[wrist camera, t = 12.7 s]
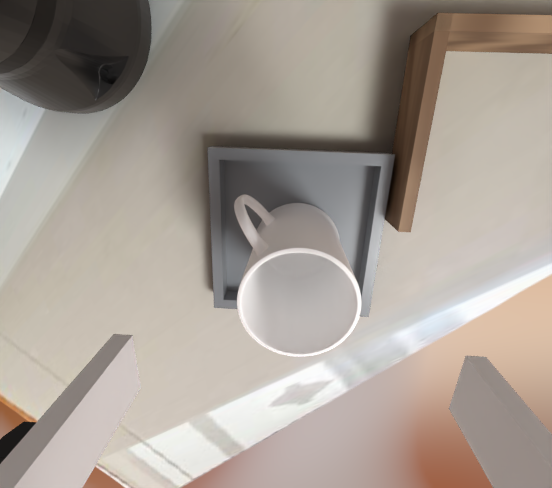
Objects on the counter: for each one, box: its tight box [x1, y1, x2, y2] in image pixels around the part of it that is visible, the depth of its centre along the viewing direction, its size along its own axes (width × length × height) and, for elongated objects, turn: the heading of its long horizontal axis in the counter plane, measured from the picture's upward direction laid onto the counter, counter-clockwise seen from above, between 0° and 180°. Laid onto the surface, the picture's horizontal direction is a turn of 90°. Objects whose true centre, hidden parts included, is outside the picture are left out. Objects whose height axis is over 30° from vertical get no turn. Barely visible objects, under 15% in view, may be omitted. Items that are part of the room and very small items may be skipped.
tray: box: [208, 146, 395, 317], centre depth 30 cm, size 16×16×2 cm
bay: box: [385, 13, 552, 232], centre depth 25 cm, size 20×15×5 cm
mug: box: [234, 195, 361, 357], centre depth 25 cm, size 12×8×12 cm
